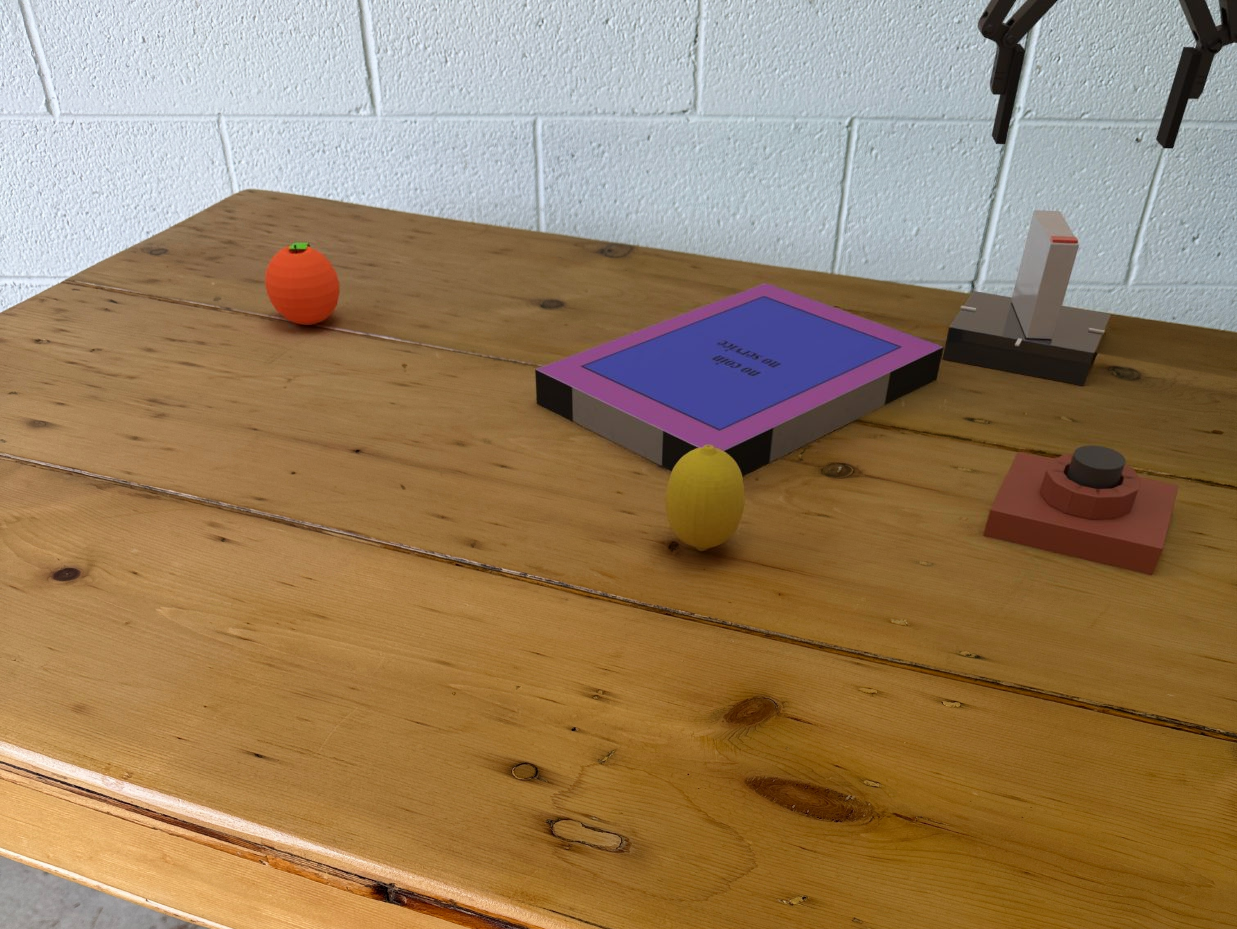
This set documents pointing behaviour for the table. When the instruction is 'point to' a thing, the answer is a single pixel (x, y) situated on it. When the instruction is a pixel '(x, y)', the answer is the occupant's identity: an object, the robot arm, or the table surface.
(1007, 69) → the robot arm
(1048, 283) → the grey panel on base
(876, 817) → the table surface
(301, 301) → the clementine
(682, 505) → the lemon
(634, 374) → the book
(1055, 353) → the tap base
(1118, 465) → the button
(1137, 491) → the switch block
